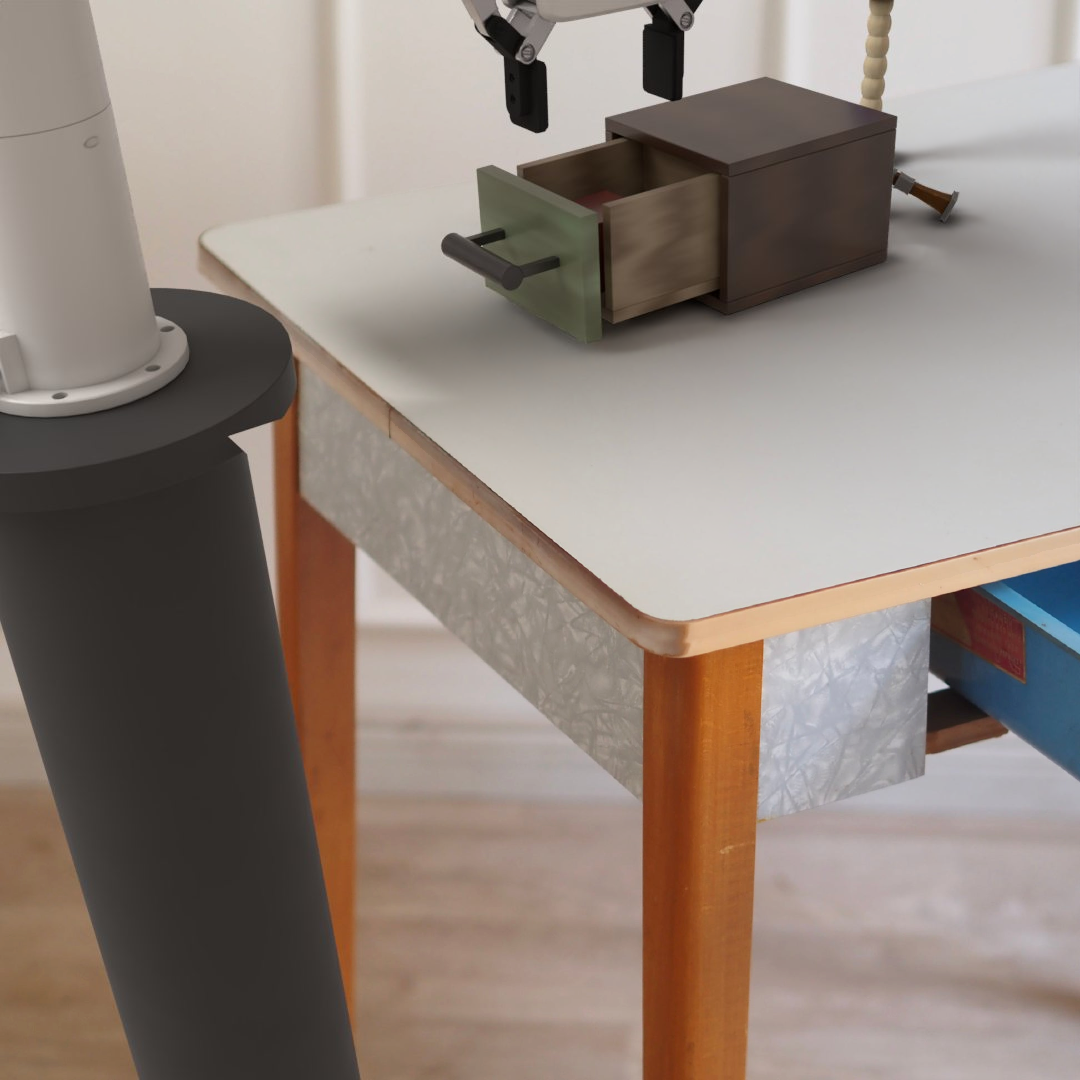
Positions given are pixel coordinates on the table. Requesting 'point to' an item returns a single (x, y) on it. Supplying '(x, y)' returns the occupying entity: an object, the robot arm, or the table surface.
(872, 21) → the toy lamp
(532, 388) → the table surface
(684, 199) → the drawer
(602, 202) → the block
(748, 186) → the cabinet
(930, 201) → the wooden post with brackets
